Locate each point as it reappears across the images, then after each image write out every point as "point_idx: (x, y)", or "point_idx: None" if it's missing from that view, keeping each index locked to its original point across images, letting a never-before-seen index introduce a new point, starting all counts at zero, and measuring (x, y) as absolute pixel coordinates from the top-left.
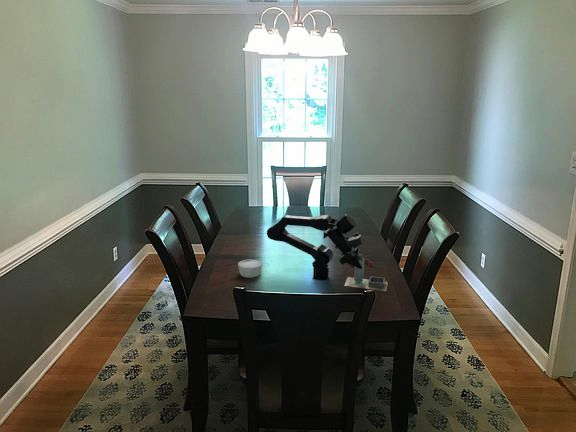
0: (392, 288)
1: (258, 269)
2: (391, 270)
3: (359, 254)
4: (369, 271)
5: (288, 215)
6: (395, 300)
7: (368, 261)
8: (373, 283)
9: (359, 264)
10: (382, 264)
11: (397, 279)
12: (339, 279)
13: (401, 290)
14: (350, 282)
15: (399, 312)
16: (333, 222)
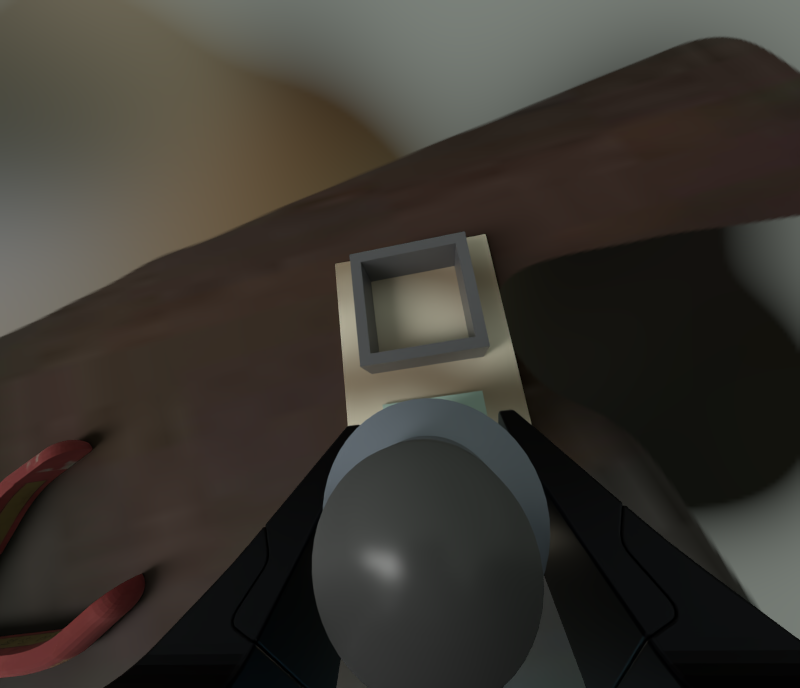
0: (409, 221)
1: None
2: (138, 300)
3: (394, 603)
4: (186, 429)
5: None
6: (577, 160)
7: (30, 476)
8: (480, 309)
9: (571, 462)
10: (51, 377)
11: (264, 234)
12: None
13: (413, 173)
14: None
15: (733, 97)
16: None
